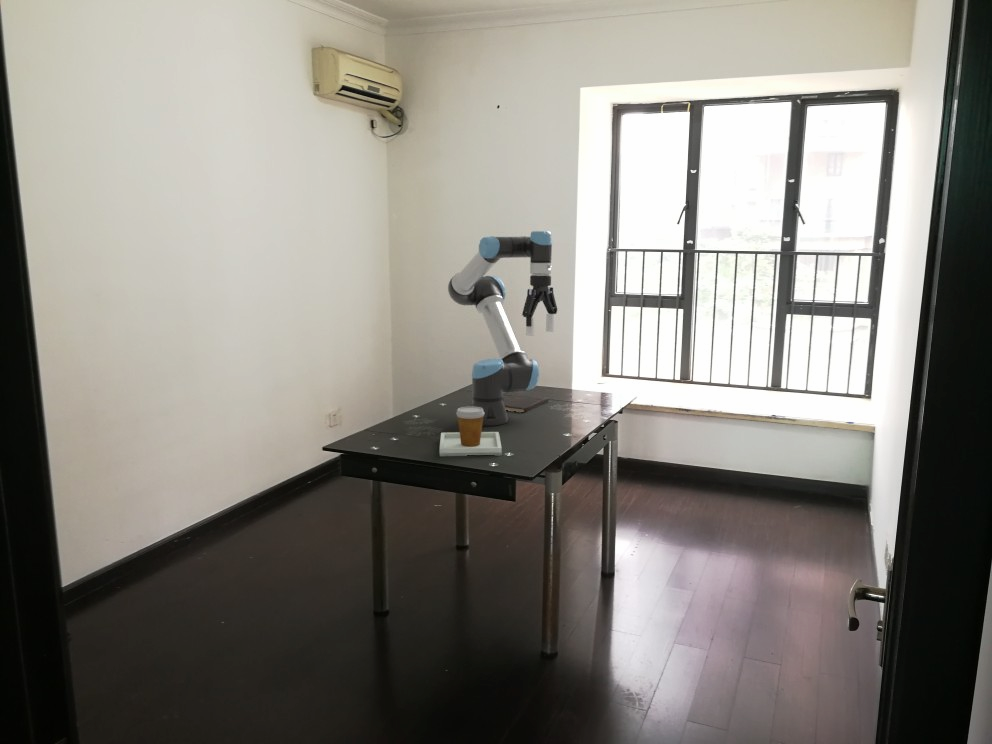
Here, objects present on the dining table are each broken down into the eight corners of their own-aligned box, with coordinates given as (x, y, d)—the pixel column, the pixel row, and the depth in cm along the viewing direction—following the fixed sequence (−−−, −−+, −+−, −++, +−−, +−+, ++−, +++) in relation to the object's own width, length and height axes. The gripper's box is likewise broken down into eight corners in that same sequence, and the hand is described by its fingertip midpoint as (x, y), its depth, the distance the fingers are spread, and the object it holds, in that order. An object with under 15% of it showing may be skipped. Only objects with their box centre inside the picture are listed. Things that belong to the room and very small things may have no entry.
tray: (439, 456, 242) (439, 448, 241) (441, 439, 261) (441, 432, 261) (501, 455, 243) (501, 447, 242) (498, 438, 262) (498, 431, 262)
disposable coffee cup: (486, 440, 256) (486, 406, 254) (482, 448, 247) (482, 413, 245) (458, 439, 257) (458, 405, 255) (454, 447, 248) (453, 412, 246)
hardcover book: (489, 409, 308) (489, 404, 308) (515, 399, 328) (515, 394, 328) (524, 414, 300) (524, 408, 300) (548, 403, 320) (548, 397, 320)
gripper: (530, 276, 257) (530, 338, 261) (567, 273, 277) (566, 330, 281) (512, 276, 262) (512, 336, 266) (549, 273, 282) (549, 329, 286)
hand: (540, 333), depth 273 cm, fingers open, 13 cm apart
